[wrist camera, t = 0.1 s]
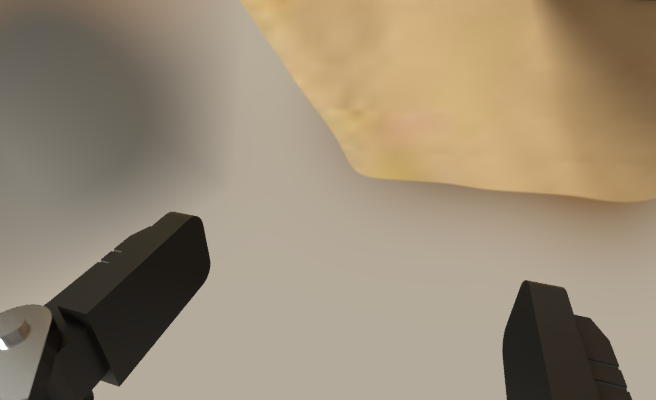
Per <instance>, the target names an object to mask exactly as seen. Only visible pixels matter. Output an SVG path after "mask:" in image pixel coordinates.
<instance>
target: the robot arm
mask: <svg viewBox="0 0 656 400" xmlns="http://www.w3.org/2000/svg"><path fill="white" fill-rule="evenodd" d="M209 270H210V258H209V252H208V247H207V242H206V237H205V232H204V227H203V222H202V220H201V219H200V218H199V217H197V216H193V215H188V214H182V213H176V212H169V213H167V214H166V215H165V216H164V217H162V218H161V219H160V220H159V221H158V222H156V223H155V224H154V225H153V226H151V227H148V228H146V229H143V230H141V231H139V232H137V233H135V234H133V235H131V236H129V237H128V238H127V239H126V240H124V242H122V243H121V244H120V245H118V246H117V247H116V248H115V249H114V251H113V252H112V251H111V252H110V253H108V254H107V255H106V256H105V257H104V258H102V259H101V262H97V263H96V264H95V265H94V266H93V267H91V268H90V269H89V270H88V271H86V272H85V273H84V274H83V275H81V276H80V277H79V278H78V279H76V280H75V281H74V282H73V283H72V284H70V285H69V286H68V287H67V288H66V289H64V290H63V291H62V292H60V293H59V294H58V295H57V296H56V297H54V298H53V299H52V300H51V301H49V302H48V303H47V304H45V305H44V306H42V305H35V304H31V305H23V306H19V307H15V308H12V309H9V310H6V311H4V312H2V313H0V400H94V394H93V391H92V389H93V388H94V387H95V386H96V385H97V383H98V382H99V381H100V380H101V381H104V382H107V383H110V384H113V385H116V386H120V385H121V384H122V383H123V382H124V380H125V379H126V378H127V377H128V376H129V374H130V373H131V372H132V371H133V369H134V368H135V367H136V366H137V364H138V363H139V362H140V361H141V360H142V358H143V357H144V356H145V354H146V353H147V352H148V351H149V350H150V348H151V347H152V346H153V345H154V344H155V342H156V341H157V340H158V339H159V338H160V336H161V335H162V334H163V333H164V331H165V330H166V329H167V328H168V327H169V325H170V324H171V323H172V322H173V320H174V319H175V318H176V317H177V316H178V314H179V313H180V312H181V311H182V309H183V308H184V307H185V306H186V305H187V303H188V302H189V301H190V300H191V298H192V297H193V296H194V295H195V294H196V292H197V291H198V290H199V289H200V287H201V286H202V285H203V284H204V282H205V281H206V279H207V276H208V274H209ZM502 351H503V364H504V375H505V385H506V395H507V400H632V398H631V396H630V393H629V392H627V390H626V388H627V386H626V383H625V380H624V377H623V375H622V372H621V371H620V370H619V369H618V367H619V365H618V362H617V359H616V357H615V354H614V351H613V349H612V346H611V344H610V341H609V340H608V339H607V337H606V336H605V335H604V334H603V333H602V332H601V330H600V329H599V328H598V327H597V326H596V325H595V323H594V322H593V321H592V320H591V319H590V318H587V317H582V316H577V315H574V314H573V311H572V307H571V304H570V301H569V298H568V295H567V292H566V290H565V289H564V288H563V287H558V286H553V285H547V284H542V283H537V282H532V281H527V280H525V281H524V282H523V283H522V285H521V287H520V290H519V292H518V295H517V298H516V300H515V303H514V306H513V309H512V311H511V314H510V317H509V320H508V322H507V325H506V328H505V332H504V338H503V350H502Z"/></svg>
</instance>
